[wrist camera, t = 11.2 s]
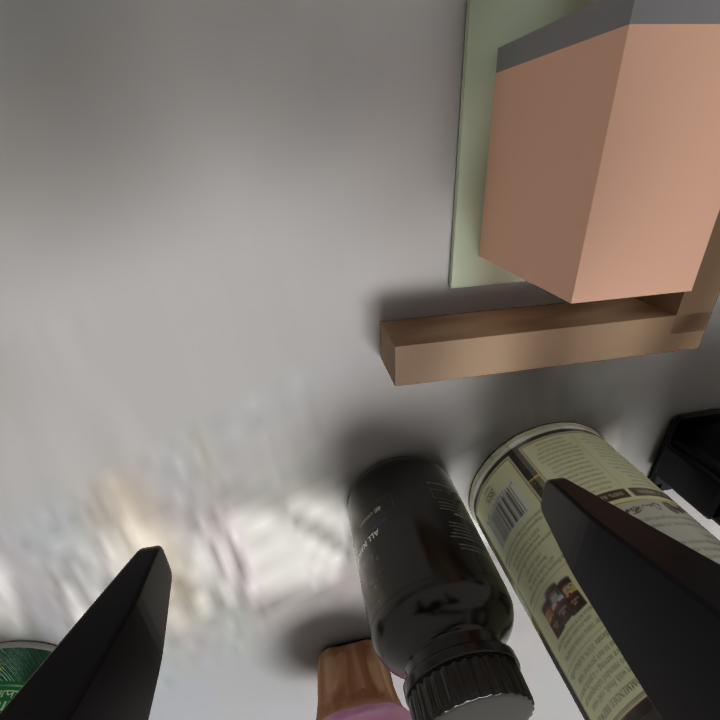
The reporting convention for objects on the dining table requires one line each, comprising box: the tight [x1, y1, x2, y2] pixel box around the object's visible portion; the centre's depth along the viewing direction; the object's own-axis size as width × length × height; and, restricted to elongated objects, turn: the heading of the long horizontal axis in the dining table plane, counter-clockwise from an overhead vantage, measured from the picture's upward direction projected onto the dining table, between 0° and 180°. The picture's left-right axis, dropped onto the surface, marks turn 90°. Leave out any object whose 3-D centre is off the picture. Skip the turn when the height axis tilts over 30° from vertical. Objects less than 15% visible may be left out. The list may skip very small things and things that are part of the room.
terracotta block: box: [479, 0, 720, 304], centre depth 15 cm, size 8×4×7 cm, turn 2°
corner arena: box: [380, 0, 720, 386], centre depth 17 cm, size 16×17×3 cm
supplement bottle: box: [348, 457, 534, 720], centre depth 21 cm, size 7×7×12 cm
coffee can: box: [469, 422, 720, 720], centre depth 22 cm, size 10×10×14 cm
